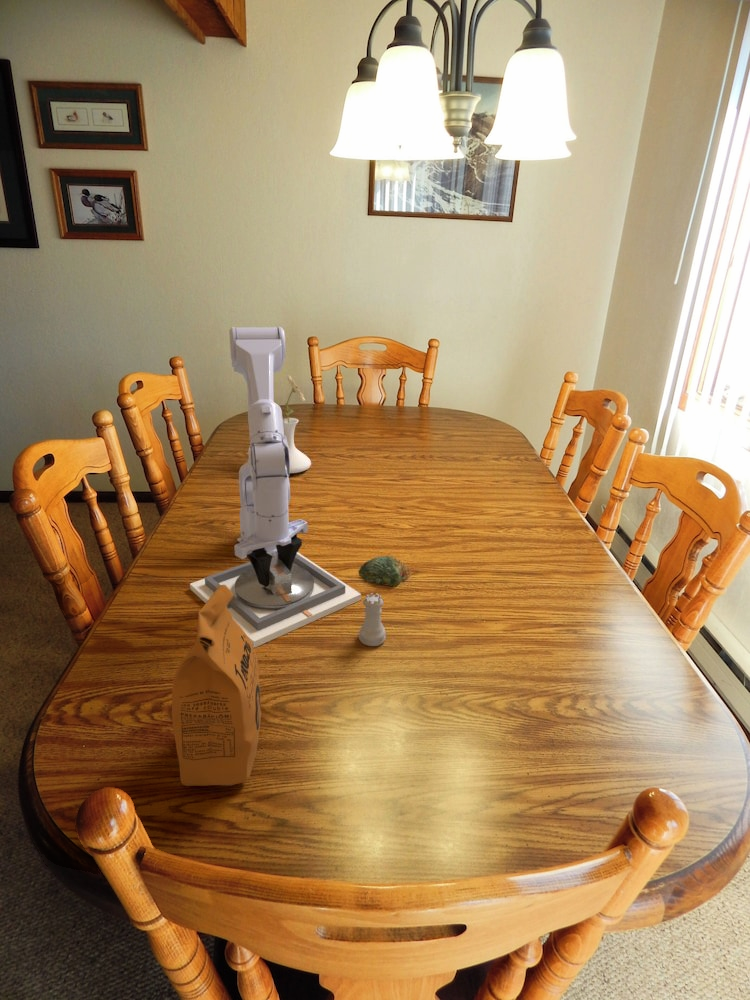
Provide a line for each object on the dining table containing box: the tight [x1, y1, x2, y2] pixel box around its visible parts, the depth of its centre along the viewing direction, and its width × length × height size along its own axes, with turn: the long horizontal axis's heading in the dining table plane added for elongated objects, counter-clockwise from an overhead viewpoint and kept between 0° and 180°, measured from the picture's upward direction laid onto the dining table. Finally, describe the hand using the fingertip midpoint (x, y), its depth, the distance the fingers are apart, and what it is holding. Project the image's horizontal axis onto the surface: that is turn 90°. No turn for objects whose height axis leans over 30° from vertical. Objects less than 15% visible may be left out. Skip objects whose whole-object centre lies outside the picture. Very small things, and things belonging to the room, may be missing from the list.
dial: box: [235, 550, 314, 609], centre depth 111 cm, size 14×14×5 cm
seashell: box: [358, 555, 412, 587], centre depth 120 cm, size 10×4×10 cm
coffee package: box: [171, 585, 262, 787], centre depth 74 cm, size 10×12×22 cm
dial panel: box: [189, 551, 362, 649], centre depth 112 cm, size 22×22×3 cm
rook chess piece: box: [358, 592, 387, 647], centre depth 100 cm, size 4×4×8 cm
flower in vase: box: [282, 375, 312, 474], centre depth 165 cm, size 13×11×25 cm
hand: (274, 579), depth 111 cm, fingers closed on dial, 4 cm apart
